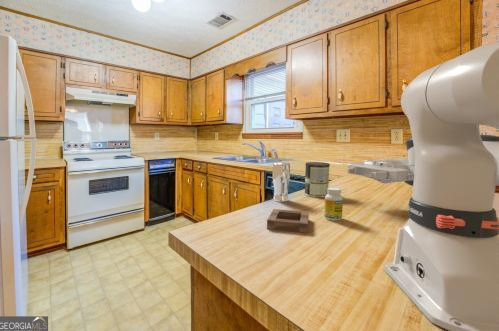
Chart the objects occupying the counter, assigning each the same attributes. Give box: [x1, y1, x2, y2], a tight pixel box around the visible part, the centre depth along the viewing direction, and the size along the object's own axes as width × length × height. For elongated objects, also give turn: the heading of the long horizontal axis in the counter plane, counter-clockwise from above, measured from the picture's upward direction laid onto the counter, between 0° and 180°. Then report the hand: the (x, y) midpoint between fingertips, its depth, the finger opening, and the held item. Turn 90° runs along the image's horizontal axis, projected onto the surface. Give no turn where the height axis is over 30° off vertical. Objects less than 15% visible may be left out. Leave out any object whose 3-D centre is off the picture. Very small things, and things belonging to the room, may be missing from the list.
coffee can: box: [304, 161, 331, 198], centre depth 110 cm, size 10×10×14 cm
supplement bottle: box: [324, 187, 344, 222], centre depth 78 cm, size 5×5×10 cm
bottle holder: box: [266, 208, 310, 234], centre depth 73 cm, size 11×11×2 cm
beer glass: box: [272, 162, 291, 203], centre depth 100 cm, size 7×7×15 cm
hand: (360, 173), depth 83 cm, fingers open, 8 cm apart
